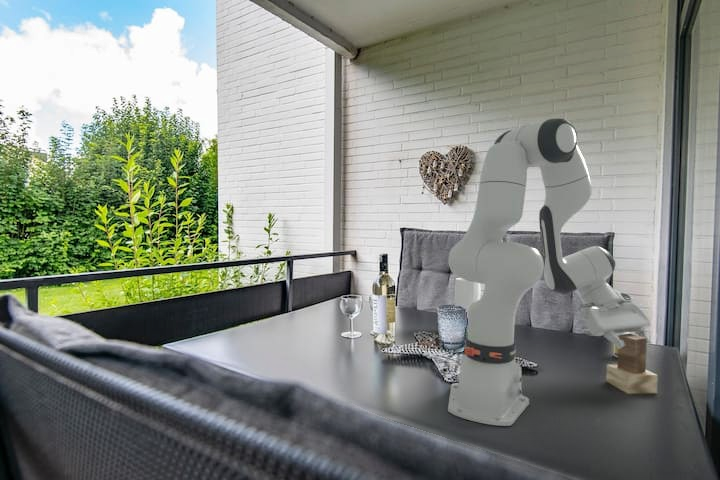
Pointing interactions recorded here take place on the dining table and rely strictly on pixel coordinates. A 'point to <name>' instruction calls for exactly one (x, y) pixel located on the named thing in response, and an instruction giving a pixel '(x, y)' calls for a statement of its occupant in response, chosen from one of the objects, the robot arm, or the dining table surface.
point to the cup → (466, 293)
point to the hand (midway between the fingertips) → (635, 346)
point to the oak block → (632, 380)
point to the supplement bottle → (615, 349)
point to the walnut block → (632, 354)
